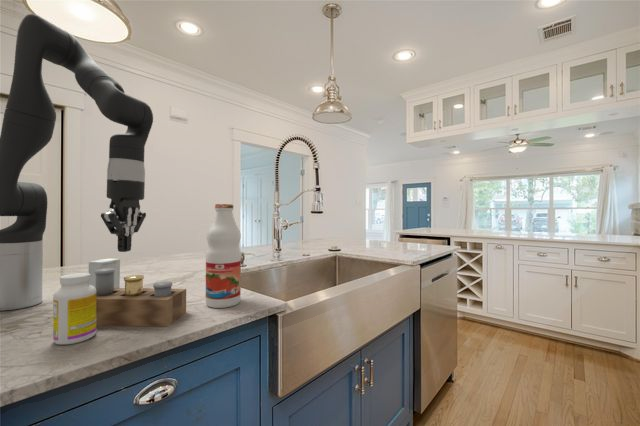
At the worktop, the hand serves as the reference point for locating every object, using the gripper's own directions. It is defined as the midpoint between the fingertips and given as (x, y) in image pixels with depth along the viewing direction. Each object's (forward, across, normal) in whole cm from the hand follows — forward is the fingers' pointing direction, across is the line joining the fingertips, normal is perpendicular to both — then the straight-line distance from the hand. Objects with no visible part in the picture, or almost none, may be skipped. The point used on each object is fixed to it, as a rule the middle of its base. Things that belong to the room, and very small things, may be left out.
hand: (124, 251), depth 69 cm
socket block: (+16, 0, +3) cm, 16 cm away
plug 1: (+12, 0, -4) cm, 12 cm away
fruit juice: (+16, -12, +20) cm, 28 cm away
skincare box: (+17, -11, -12) cm, 23 cm away
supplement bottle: (+16, +11, -2) cm, 20 cm away
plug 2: (+15, 0, +10) cm, 18 cm away
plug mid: (+13, 0, +3) cm, 13 cm away
